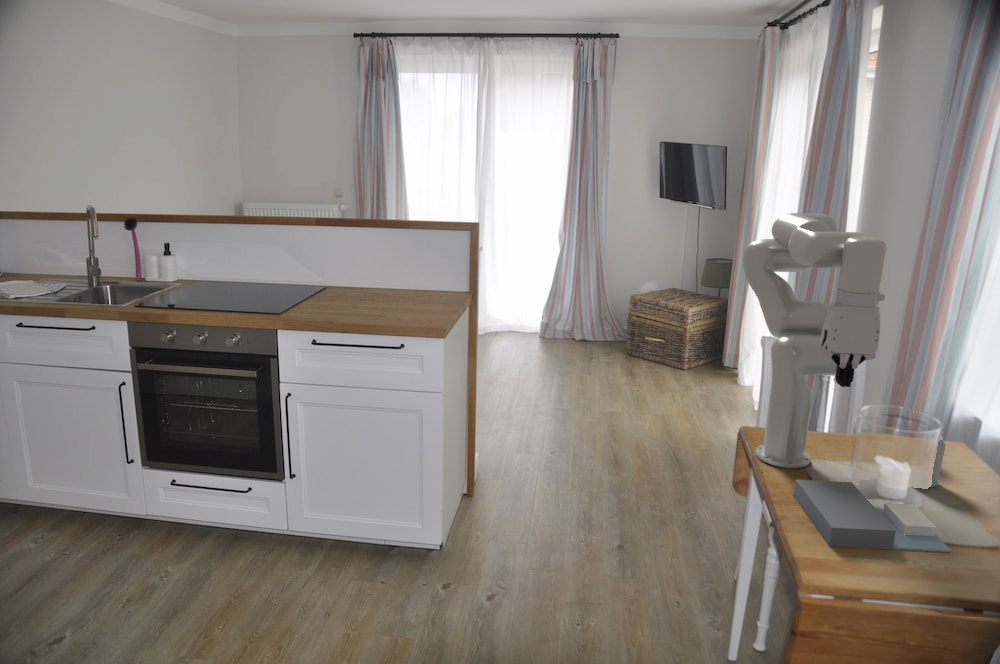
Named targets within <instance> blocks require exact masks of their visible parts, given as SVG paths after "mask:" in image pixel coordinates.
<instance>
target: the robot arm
mask: <svg viewBox="0 0 1000 664" xmlns="http://www.w3.org/2000/svg"><path fill="white" fill-rule="evenodd" d="M771 235H772V237H773V238H764V239H758V240H754V241H752V242H750V243H748V244H747V246H745V249H744V251H743V256H742V265H743V271H744V277H745V278H746V281H747V282H748V284H749V286H750V288H751V289H752V291H753V292H754V294H755V296H756V297H757V300H758V303H759V306H760V310H761V311H762V315H763V318H764V320H765V324H766V326H767V330H768V331H769V333H770V334H771V335H772V337H775V338H776V339H775V340H774V341H773V343H772V345H771V348H770V361H771V364H770V365H771V380H770V389H769V398H768V407H767V414H766V415H767V416H766V423H765V430H764V438H763V443H762V444H759V445H758V446H756V449H755V454H756V457H757V458H758V459H759V460H761V461H762V462H764V463H766V464H769V465H771V466H774V467H779V468H783V469H799V468H801V469H802V468H805V467H806V466H807V467H808V465H809V464H810V462H811V456H810V455H809V453H807V452H806V451H805V449H806V448H805V447H806V442H807V435H808V428H809V422H810V421H809V420H810V414H811V409H812V401H813V391H812V388H811V387H810V385H809V383H808V382H807V380H806V379H805V376H833V375H834V376H835V377H834V380H835V381H836V384H837V385H838V386H840V387H842V388H845V387H846V388H850V387H851V384H852V383H853V381H854V376H855V370H856V369H858V368H859V365H861V364H862V363H863V362H864V361H870V360H874V359H876V356H877V355H876V352H877V351H878V347H879V343H880V334H881V311H880V307H879V306H878V305H879V302H883V301H885V300H886V295H885V294H883V293H880V288H881V283H882V275H883V269H884V263H885V258H886V257H885V256H886V252H887V244H886V242H885V240H883V239H880V238H877V237H871V236H870V235H868V234H866V233H863V232H859V231H858V232H856V231H855V232H854V231H853V232H852V231H838V226H837V223H836V221H835V219H834V218H833V217H832V216H830V215H829V214H826V213H805V212H804V213H802V212H801V213H800V212H794V213H793V212H791V213H786V214H782V215H781V216H779V217H778V218H777V219H776V220H775V221H774V222H773V224H772V227H771ZM813 268H816V269H825V268H826V269H828V268H829V269H840V271H839V276H838V282H837V289H836V295H835V302H830V304H829V305H828V304H826V303H824V302H822V301H821V302H820V301H802V300H799V299H797V298H796V295H795V293H794V291H793V288H792V286H791V285H790V284H789V283H788V282H787V281H786V280H785V279H784V278H783V277H781V276H780V275H779V274H777V273H780V272H781V273H804V272H805V273H806V272H808V271H810V270H812V269H813Z"/></svg>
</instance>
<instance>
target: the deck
mask: <svg viewBox="0 0 1000 664" xmlns="http://www.w3.org/2000/svg"><path fill="white" fill-rule="evenodd" d="M794 483H795V484H794V490H793V498H794V499H795V500H796V502H797V503H798V504H799V506H800V507H801V508H802V510H803V512H804V513H805V515H806V516H807V517H808V519H809V520H810V521H811V524H813V526H814V527H815V528H816V529H817V531H818V533H819V535H820V536H821V537H822V538H823V540H824V541H825V543H826V544H827V546H828V547H843V548H858V549H859V548H862V549H880V550H881V549H883V550H894V549H893V544H894V538H895V533H896V530H895V529H894V528H893V527H892V526H891V525H890V524H889V523H888V522H887V521H886V519H885V518H884V517H883V516H882V515H881V514H880V513H879V512H878V511H877V510H876V508H875V507H874V506H873V505H872V504H871V503H870V502H869V501H868V500H867V499H866V498H867V497H866V496H865V495H864V494H863V493H862V492H861V491H860V490H859V488H858V487H857V486H856V485H855V484H854V483H853V482H852V481H851V482H850V481H833V480H830V481H829V480H811V479H795V482H794Z"/></svg>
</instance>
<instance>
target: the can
mask: <svg viewBox="0 0 1000 664" xmlns="http://www.w3.org/2000/svg"><path fill="white" fill-rule="evenodd" d="M939 435H940V434H939ZM945 450H946V443H945V441H944V437H943V436H942V435H940V437H939V442H938V447H937V453H936V459H935V462H934V467H933V474H932V485H931V488H933V487H935V486H937V485H938V484H939V480H940V476H941V475H940V474H941V470H942V464H943V461H944V455H945Z"/></svg>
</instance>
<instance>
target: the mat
mask: <svg viewBox="0 0 1000 664" xmlns="http://www.w3.org/2000/svg"><path fill="white" fill-rule="evenodd" d="M875 508H876V507H875ZM876 510H877V511H878V512H879V513H880V514H881V515H882V516H883V517H884V518H885V519H886V521H887V522H888V523H889V524H890V525H891V526H892V527H893V528H894V529H895V530H896V533H895V538H894V544H893V549H892V550H898V551H899V550H900V551H916V552H917V551H919V552H920V551H921V552H939V553H952V549H951V548H950V547H949V546H948V545H947V544H946V543H945V542H943V540H942V539H941V538H940V537H939V536H938V535H937V534H936V533H935V536H924V535H906V534H905V535H904V534H903V533H902V532H901V531H900V530H899V529H898V528H897V526H896V525H895V524H894V523H893V522H892V521H891V520H890V519H889V518H888V516H887V515H886V514H885V513H884V512H883V509H880V508H876Z"/></svg>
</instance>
